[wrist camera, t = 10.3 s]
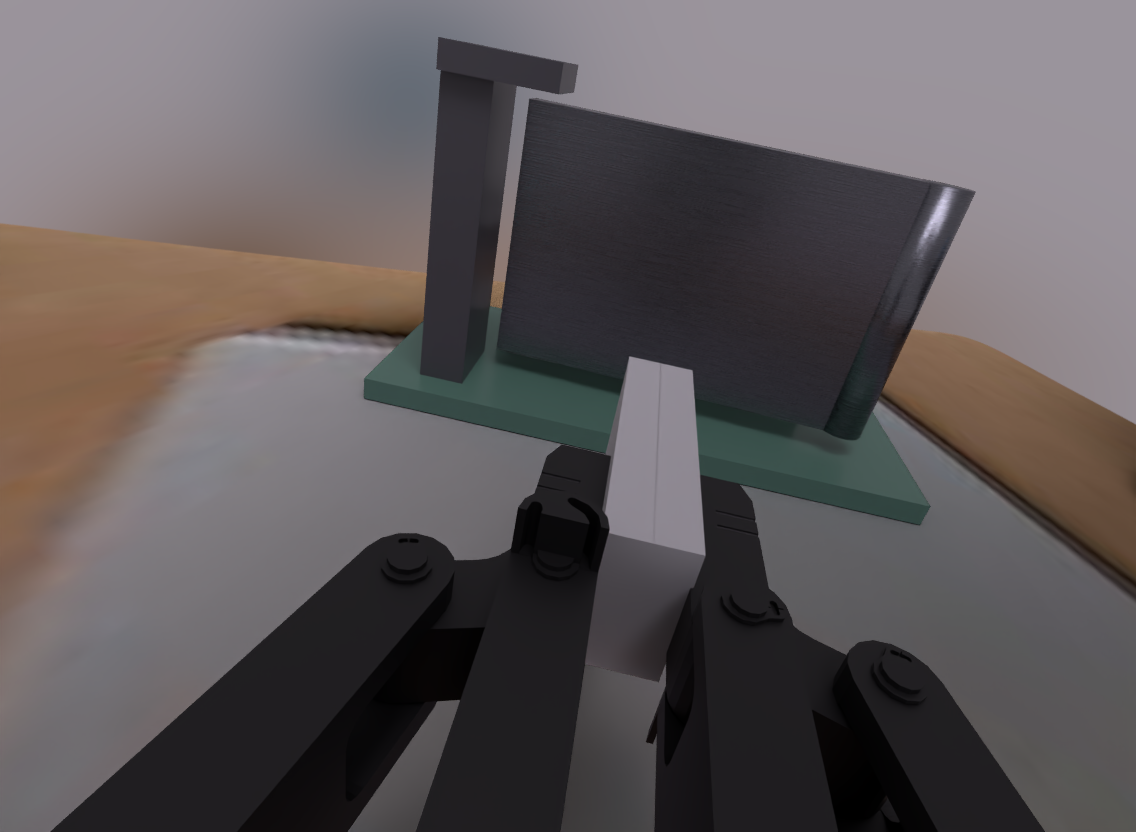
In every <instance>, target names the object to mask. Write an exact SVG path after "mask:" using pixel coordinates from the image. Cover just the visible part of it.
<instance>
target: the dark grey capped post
mask: <svg viewBox="0 0 1136 832" xmlns="http://www.w3.org/2000/svg"><path fill="white" fill-rule="evenodd" d="M436 69H438V70H441V75H440V89H439V104H438V119H437V134H436V147H435V162H434V176H433V191H432V205H431V221H430V236H429V250H428V264H427V278H426V293H425V307H424V322H423V337H422V351H421V366H420V374H421V375H425V376H429V377H434V378H438V379H443V380H447V381H452V382H456V383H461V384H462V383H463V382H464V380H465V379H466V377H467V376H468V374H469V373H470V371H471V370H472V368H473V367H474V366H475V364H476V363H477V361H478V360H479V358H480V357H481V355H482V354H483V352H484V350H485V342H486V334H487V325H488V317H489V309H490V301H491V292H492V284H493V275H494V268H495V259H496V251H497V243H498V234H499V227H500V218H501V210H502V202H503V194H504V185H505V176H506V169H507V161H508V152H509V143H510V136H511V127H512V119H513V111H514V103H515V94H516V87H517V86H521V87H526V88H531V89H536V90H541V91H546V92H550V93H555V94H565V93H573V92H574V88H575V82H576V75H577V70H578V65H576V64H571V63H566V62H561V61H556V60H551V59H546V58H541V57H537V56H531V55H526V54H522V53H517V52H512V51H507V50H502V49H497V48H492V47H488V46H483V45H478V44H473V43H467V42H461V41H456V40H451V39H445V38H441V37H439V38H438V53H437V68H436Z"/></svg>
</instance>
